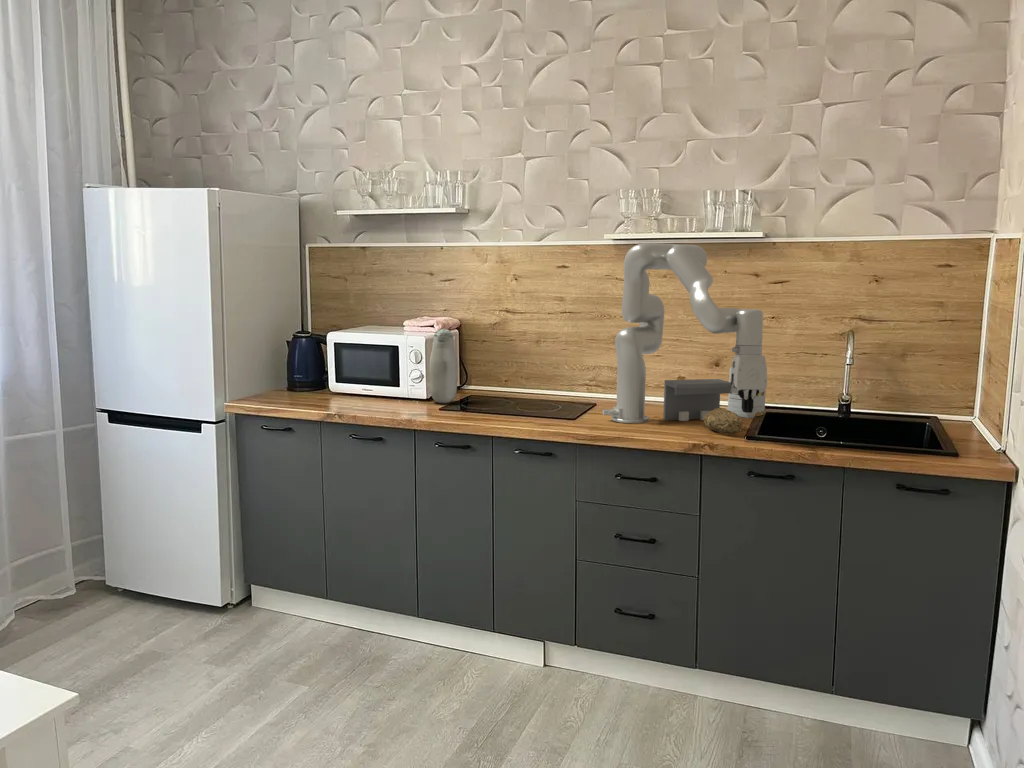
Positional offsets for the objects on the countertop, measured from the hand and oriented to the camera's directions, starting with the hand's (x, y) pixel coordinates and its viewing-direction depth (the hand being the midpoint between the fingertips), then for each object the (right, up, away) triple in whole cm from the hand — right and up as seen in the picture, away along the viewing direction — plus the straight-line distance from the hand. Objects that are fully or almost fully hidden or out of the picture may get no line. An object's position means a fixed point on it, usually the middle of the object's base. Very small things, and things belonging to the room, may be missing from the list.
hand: (747, 411), depth 250 cm
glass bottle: (-96, +1, +66) cm, 117 cm away
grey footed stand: (-8, -4, +34) cm, 36 cm away
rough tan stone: (-3, -7, +17) cm, 19 cm away
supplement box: (+12, -3, +45) cm, 47 cm away
